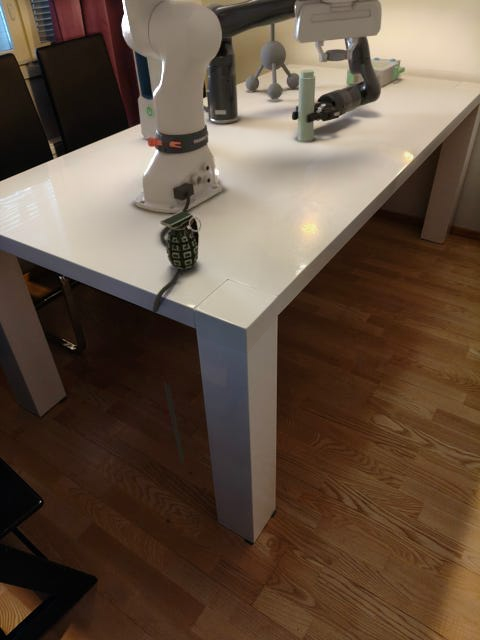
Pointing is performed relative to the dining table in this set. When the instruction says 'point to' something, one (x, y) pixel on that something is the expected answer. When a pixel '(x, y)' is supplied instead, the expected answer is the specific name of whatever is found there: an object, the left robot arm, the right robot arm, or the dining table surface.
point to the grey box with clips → (380, 71)
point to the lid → (336, 55)
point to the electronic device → (147, 91)
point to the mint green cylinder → (306, 104)
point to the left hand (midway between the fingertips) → (335, 60)
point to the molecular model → (273, 67)
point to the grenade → (182, 240)
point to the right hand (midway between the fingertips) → (300, 117)
